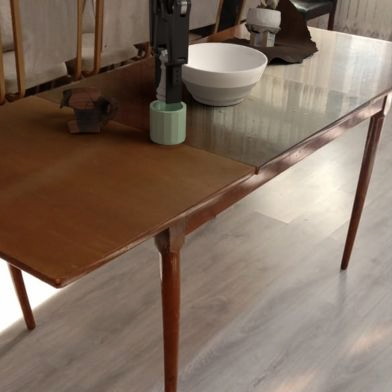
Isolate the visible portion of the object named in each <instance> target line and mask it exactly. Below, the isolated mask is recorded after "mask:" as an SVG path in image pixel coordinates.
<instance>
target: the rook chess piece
mask: <svg viewBox="0 0 392 392" xmlns="http://www.w3.org/2000/svg"><path fill="white" fill-rule="evenodd" d="M159 59H160V60H161V62H162V65H161V69H162V74H161V81H160V84H159V87H158V88H157V93H158V94H155V97H156V98H157V100H159V101H161V102H165V95H166V67H165V66H164V63H165V62H168V55H167V50H164V51H161V56H160V57H159Z"/></svg>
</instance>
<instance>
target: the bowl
mask: <svg viewBox="0 0 392 392" xmlns="http://www.w3.org/2000/svg"><path fill="white" fill-rule="evenodd" d="M266 64H267V57H266V56H265V55H264V54H263V53H261V52H260V51H258V50H255V49H253V48H249V47H246V46H241V45H235V44H227V43H222V42H201V43H194V44H189V51H188V64H185V65H182V83H183V84H184V85H185V87H186V90H187V91H188V93H190V95H191V96H192V98H193V99H194V100H195V101H197V102H199V103H201V104H204V105H207V106H214V107H229V106H235V105H238V104H240V103H242V102H243V101H244V100H245V98H246V97H247V96H248V95H250V93H251V92H252V90H253V89H254V88H255V87H256V85H257V83H258V82H259V80H260V79H261V77H262V75H263V73H264V71H265V69H266V67H267V65H266Z"/></svg>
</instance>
